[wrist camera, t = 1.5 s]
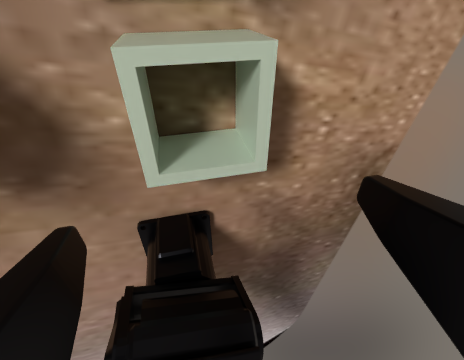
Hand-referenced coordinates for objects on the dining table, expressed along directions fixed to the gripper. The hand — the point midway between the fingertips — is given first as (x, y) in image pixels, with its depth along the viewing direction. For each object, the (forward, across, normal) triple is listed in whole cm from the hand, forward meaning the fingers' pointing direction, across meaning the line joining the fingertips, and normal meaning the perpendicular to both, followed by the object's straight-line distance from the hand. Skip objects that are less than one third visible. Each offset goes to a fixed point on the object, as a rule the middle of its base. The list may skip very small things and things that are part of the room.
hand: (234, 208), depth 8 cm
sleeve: (+12, 0, 0) cm, 12 cm away
